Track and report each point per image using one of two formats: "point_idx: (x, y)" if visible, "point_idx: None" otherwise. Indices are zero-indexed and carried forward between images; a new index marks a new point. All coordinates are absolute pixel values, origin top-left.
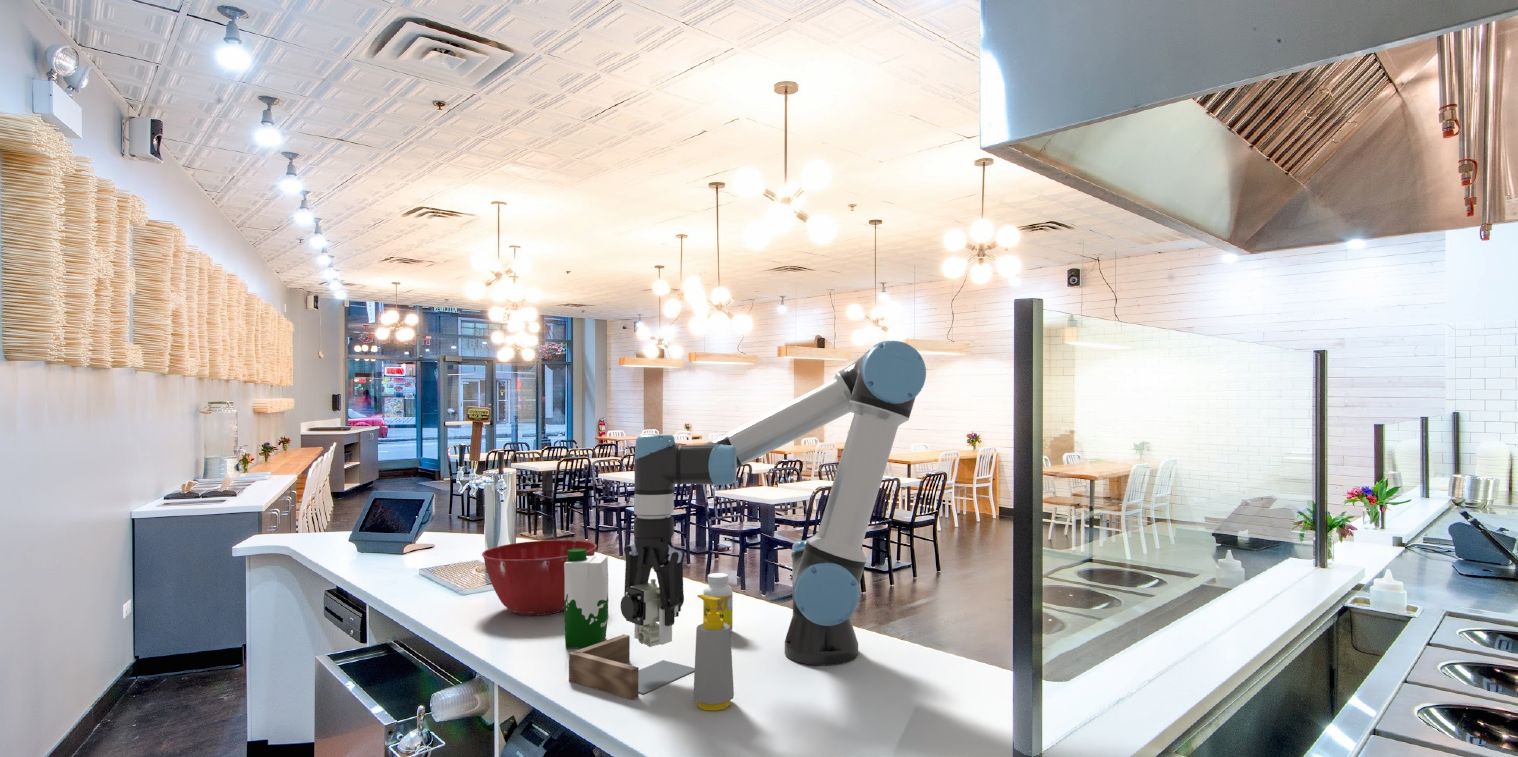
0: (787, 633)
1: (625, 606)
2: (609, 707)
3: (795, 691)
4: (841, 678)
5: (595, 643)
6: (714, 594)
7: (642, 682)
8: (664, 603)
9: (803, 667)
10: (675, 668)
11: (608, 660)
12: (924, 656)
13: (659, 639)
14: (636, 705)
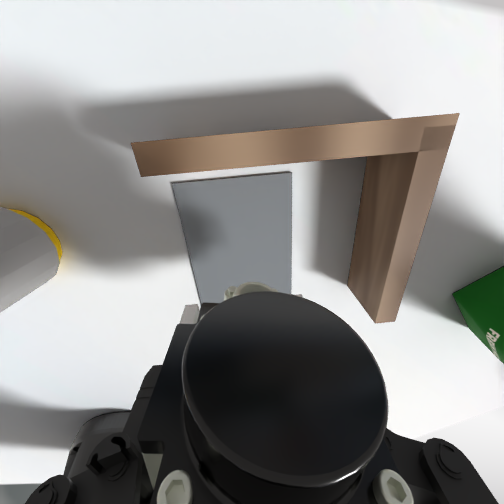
0: None
1: (305, 353)
2: (153, 55)
3: (12, 353)
4: (30, 407)
5: (466, 294)
6: None
7: (228, 225)
8: (117, 480)
9: (102, 405)
10: None
11: (276, 157)
12: (48, 476)
13: (193, 313)
14: (119, 121)
